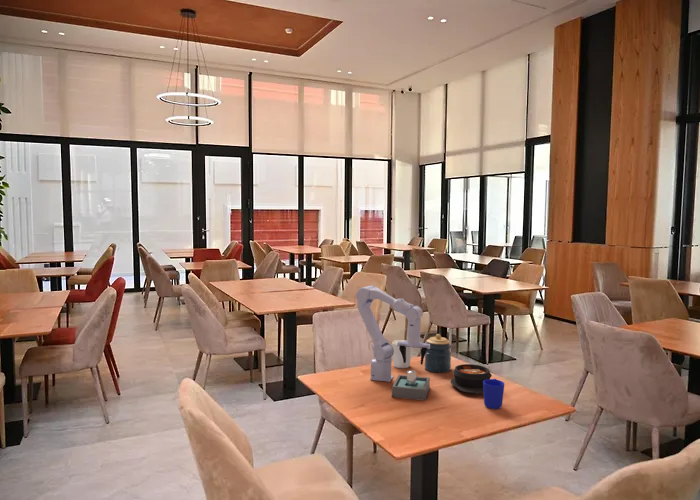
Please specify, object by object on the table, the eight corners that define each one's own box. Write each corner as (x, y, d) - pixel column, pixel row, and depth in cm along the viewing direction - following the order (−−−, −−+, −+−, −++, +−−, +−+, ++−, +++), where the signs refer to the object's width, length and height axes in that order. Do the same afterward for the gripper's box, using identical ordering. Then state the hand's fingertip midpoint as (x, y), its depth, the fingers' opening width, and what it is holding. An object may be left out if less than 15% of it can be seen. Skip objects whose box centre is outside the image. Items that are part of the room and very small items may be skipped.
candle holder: (388, 365, 253) (388, 342, 253) (399, 361, 261) (400, 339, 260) (403, 370, 247) (404, 346, 246) (415, 365, 254) (415, 342, 253)
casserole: (449, 377, 237) (449, 359, 237) (489, 379, 234) (490, 361, 234) (451, 396, 213) (452, 376, 212) (496, 398, 210) (497, 379, 209)
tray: (391, 397, 211) (392, 386, 210) (398, 384, 226) (398, 374, 226) (425, 400, 207) (425, 389, 207) (429, 387, 222) (429, 377, 222)
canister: (444, 374, 240) (445, 338, 239) (420, 370, 247) (420, 334, 246) (454, 368, 251) (455, 333, 250) (430, 363, 258) (431, 329, 257)
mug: (504, 401, 207) (505, 377, 206) (503, 411, 196) (504, 387, 195) (483, 398, 210) (484, 375, 209) (481, 409, 199) (482, 384, 198)
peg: (406, 390, 215) (406, 372, 215) (407, 387, 219) (407, 369, 218) (415, 391, 214) (415, 373, 213) (416, 388, 218) (416, 370, 217)
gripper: (396, 334, 222) (395, 364, 224) (428, 336, 218) (428, 367, 219) (399, 330, 229) (398, 359, 230) (431, 333, 225) (430, 362, 226)
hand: (413, 363), depth 225 cm, fingers open, 7 cm apart
